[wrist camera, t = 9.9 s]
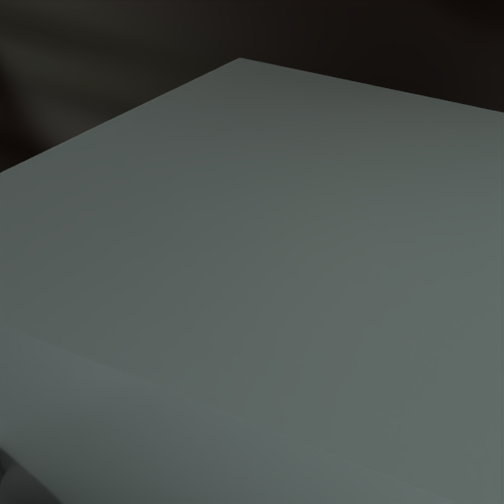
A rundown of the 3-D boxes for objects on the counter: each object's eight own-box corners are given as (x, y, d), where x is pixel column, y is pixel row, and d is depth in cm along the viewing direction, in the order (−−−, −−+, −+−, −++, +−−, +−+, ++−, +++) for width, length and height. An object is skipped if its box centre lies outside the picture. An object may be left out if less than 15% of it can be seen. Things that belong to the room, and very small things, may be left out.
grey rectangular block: (239, 57, 10) (-173, 257, 3) (562, 124, 9) (956, 696, 2) (217, 287, 14) (-1, 600, 7) (440, 360, 13) (433, 838, 6)
